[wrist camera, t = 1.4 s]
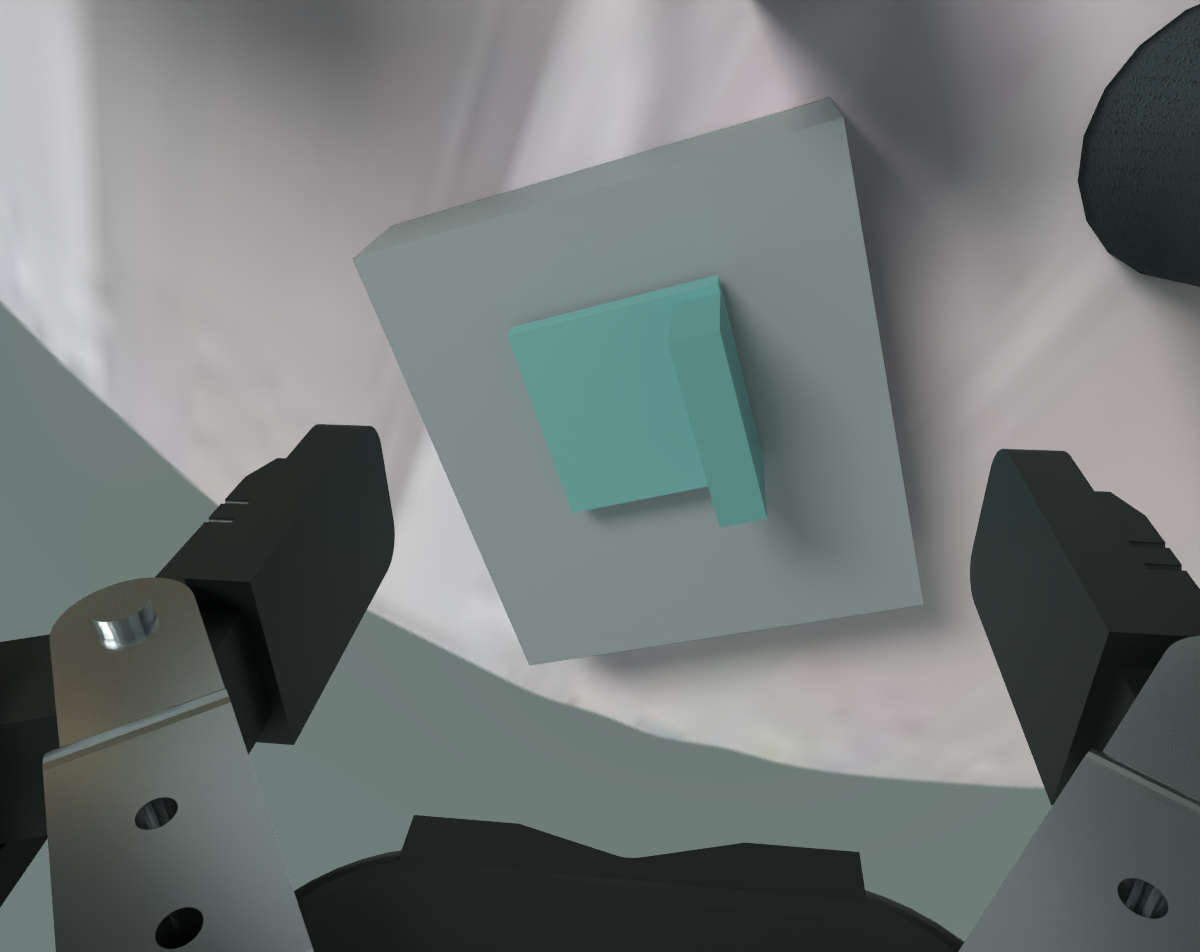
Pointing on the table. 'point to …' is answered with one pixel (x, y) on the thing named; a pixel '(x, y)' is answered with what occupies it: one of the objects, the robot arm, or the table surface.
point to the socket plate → (768, 362)
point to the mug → (1149, 156)
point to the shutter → (646, 401)
